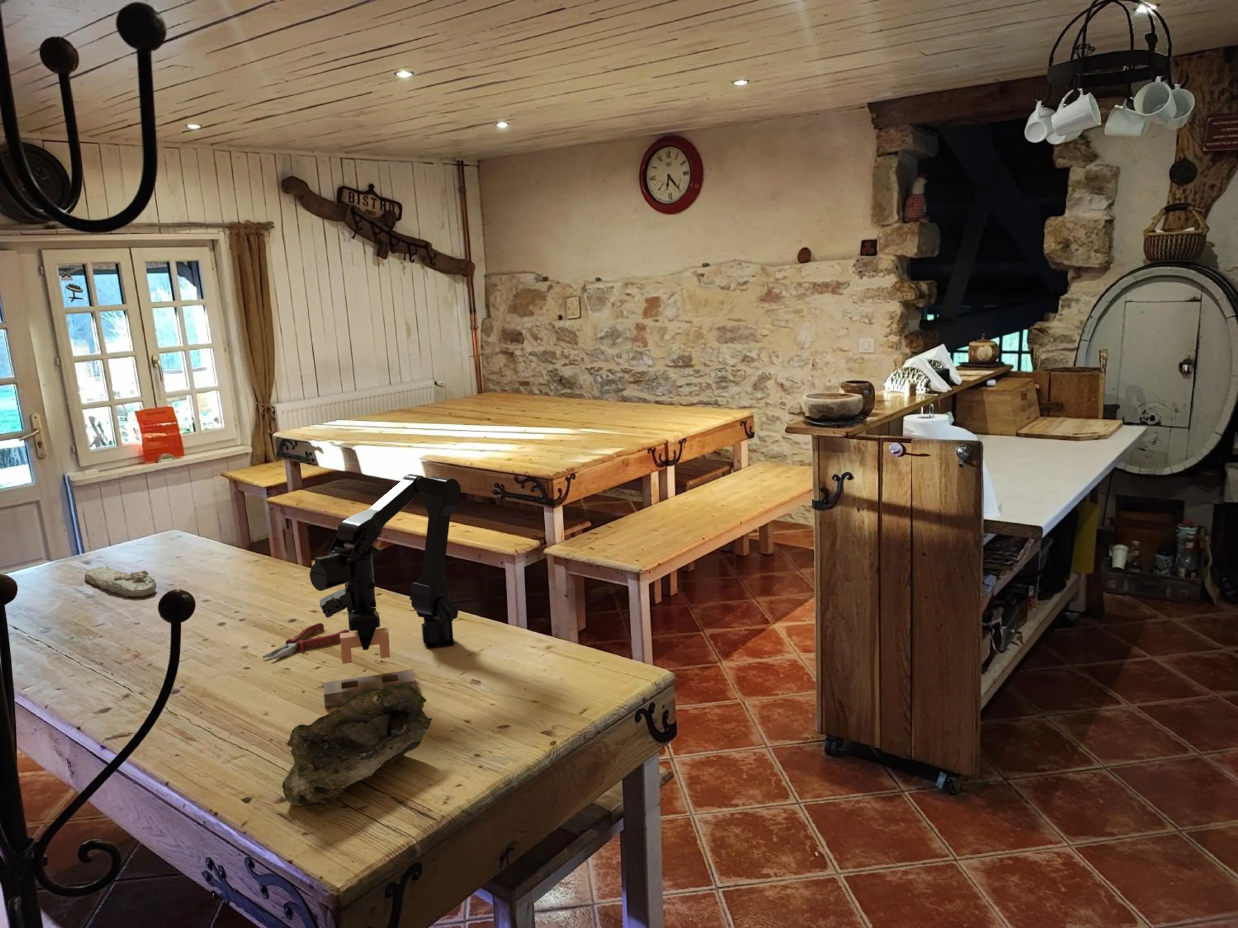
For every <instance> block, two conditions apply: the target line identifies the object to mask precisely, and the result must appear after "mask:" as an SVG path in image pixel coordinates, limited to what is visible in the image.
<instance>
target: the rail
mask: <svg viewBox="0 0 1238 928" xmlns="http://www.w3.org/2000/svg"><path fill="white" fill-rule="evenodd" d="M393 685H394V686H397V685H409V686H411V687H412V688H414V689H415V690H416V691H417V692H418V689H417V678H416V676H415V671H414V669H407V670H401V671H393V672H386V673H380V674H373V675H366V676H360V677H352V678H346V679H338V680H331V681H324V682H323V698H324V699H323V700H324V709H326V710H327V709H331V708H337V707H338V708H340V706H341V705H342V704H343V703H345V702H346V701H347V700H349V699H350V698H352V697H353V696H354V695H356V694H359V693H362V692H364V691H365V690H369V689H372V688H374V689H386V688H388V687H391V686H393Z"/></svg>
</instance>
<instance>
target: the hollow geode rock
mask: <svg viewBox="0 0 1238 928" xmlns="http://www.w3.org/2000/svg"><path fill="white" fill-rule="evenodd" d="M425 703H427V700H426V697H424V696H423V695H421V693H420V692H419V691H418V690H417V691H416V690H415V689H414V688H412V687H411V686H409V685H397V686H394V685H393V686H391V687H388V688H386V689H374V688H372V689H369V690H365V691H364V692H362V693H359V694H356V695H354V696H353V697H352V698H350V699H349V700H347V701H346V702H345V703H343V704H342V705H341V706H339V707H338V708H337V709H336V710H334V711H332V712H330V713H329V714H324V715H322V716H320V717H318V718H317V719H315V720H314V721H313V722H311V724H299V725H296V726H295V727H294V728H293V729H292V730H291V734H290V737H289V738H288V739H289V740H288V741H287V742H286V744H287V748H289V747H291V751H290V753H291V755H292V757H293V761H294V764H293V765H292V766H291V768H290V770H289V771H288V773H287V775H286V776H285V778H284V779H283V780H282V782H281V784H282V785H281V788H282V791H283V795H284V798H285V800H286V802H288V803H289V804H290V805H292V806H295V807H297V806H309V805H311V804H314V803H315V804H316V803H321V804H324V805H326V806H329V805H331V804H332V803H333V802H334V801H335V800H336V799H337V798H338V796H339V795H340V794H341V793H342V792H344V791H346V790H347V789H348V788H349V787H350V786H351V785H353V784H355V783H357V782H359V781H361V780H365V779H367V778H369V777H372V776H373V775H374V773H375V772H376V771H377V770H378V769H381V768H383V767H387V766H388V765H390V764H392V763H393V762H396V761H397V760H399V759H400V758H402V757H403V756H404V755H406V754H407V753H408V752H410V751H413V750H415V749H417V748H418V747H419V746H420V744H421V742H422V740H423V738H424V737H425V735H426V734H427V732H428V731H429V729H430V728H431V726H432V725H431V722H432V721H433V718H432V717H428V715H427V714H426V713H425V712H424V711H423V709H424V707H425V705H424V704H425Z"/></svg>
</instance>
